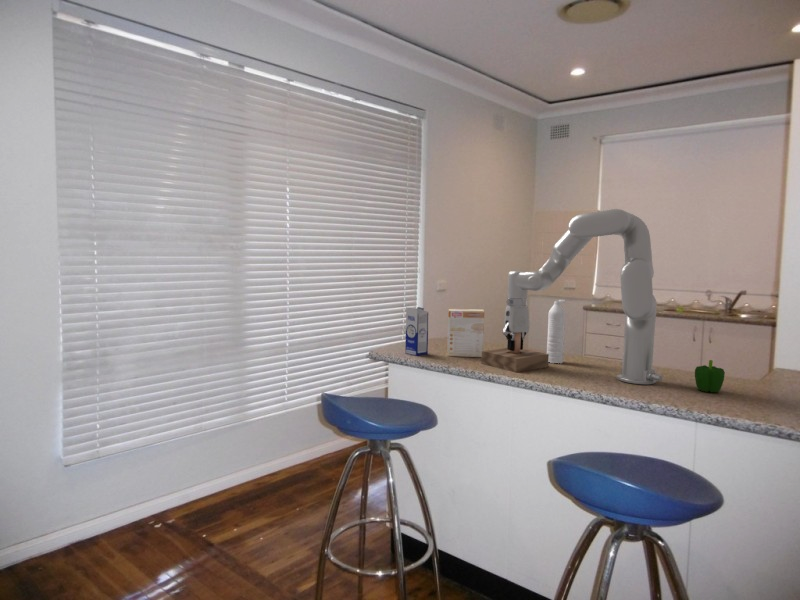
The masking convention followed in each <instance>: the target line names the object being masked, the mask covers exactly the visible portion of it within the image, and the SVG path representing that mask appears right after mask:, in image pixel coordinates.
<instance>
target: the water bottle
mask: <svg viewBox="0 0 800 600" xmlns="http://www.w3.org/2000/svg"><path fill="white" fill-rule="evenodd" d="M562 303H566V300H565V299H558V300H554V302H553V305H552V306H551V307H550V309H549V311H548V314H547V316H548V318H547V319H548V321H547V339H546V341H547V342H546V354H549V358H548V362H550V364H554V363H558V364H559V363H560V364H563V363H564V354H565V353H564V351H565V349H564V348H565V347H564V346H565V332H566V331H565V325H566V324H565V323H566V311H565V309H564V308H563V306H562Z"/></svg>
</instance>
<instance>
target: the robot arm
mask: <svg viewBox="0 0 800 600" xmlns="http://www.w3.org/2000/svg"><path fill="white" fill-rule="evenodd" d="M650 234H651V233H650V230H649V228H648V226H647V224H646V223H645V222H644V221H643V220H642V218H640V217H638V216H637V215H635V214H633V213H630V212H627V211H626V210H623V209H621V208H620V209H619V208H614V209H613V208H612V209H606V210H600V211H594V212H586V213H579V214H577V215H575V216H573V217H572V218H571V219H570V221H569V222H568V229H567V230H566V231H565V232H564V233H563V234H562V235H561V237H559V239H558V240H557V241H556V242H555V243H554V244H553V246H552V250H551V254H550V255H549V258H548V259H547V260H546V262H545V263H543V265H542V266H541V268H539V269H538V270H533V271H532V270H531V271H526V270H525V271H524V270H510V271H509V272H508V275H507V293H506V301H505V302H506V307H505V310H504V318H503V330H502V332H501V333H502V334H503V335H504V336H505V337H506V340H507V345H506V346H507V347H506V348H507V349H508V350H511V351H514V350H515V341H514V335H515V333H520V332H521V345H520V350H523V349H524V340H525V336H526V335H527V334H528V333H529V331H530V310H529V306H527V305H528V291H532V292H541V291H544V290H547V289H548V288H550V287H551V286H552V285H553V284H554V283H555V282H556V281H557V279H558V278H560V276H561V275H562V274H563V273H564V272H565V270H566V268H567V267H568V266H569V265H570V264H571V263H572V261H573V259H575V257H576V256H578V254H579V253H580V252H581V251H582V249H583V248H584V247H585V246H587V244H588V243H589V242H590V241H591V239H593V238H595V237H603V236H605V237H606V236H612V235H613V236H615V235H616V236H620V237H621V238H622V239H623V249H624V250H623V251H624V252H623V253H624V264H623V265H622V268H621V270H620V276H619V277H620V293H621V307H622V310H623V312H624V314H625V321H624V336H623V350H622V351H623V354H622V367H621V368H622V369H621V371H622V372H621V373H619V374H617V375H616V379H617V380H619V381H621V382H625V383H628V384H634V385H654V384H656V383H657V381H658V382H662V381H663V374H660V373H656V369H654V368H653V361H654V347H655V345H654V344H655V330H656V320H657V319H656V318H657V312H658V311H657V310H658V308H657V305H658V304H657V303H658V302H657V299H656V296H654V294H653V277H654V266H653V254H652V245H651V244H652V243H651V235H650ZM510 331H511V332H510ZM510 333H511V335H510Z"/></svg>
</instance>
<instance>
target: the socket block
mask: <svg viewBox="0 0 800 600" xmlns="http://www.w3.org/2000/svg"><path fill="white" fill-rule="evenodd" d="M548 358H549V354H547V353H545V352H539V351H535V350H530V349H526V348H523V350H520V354H511V353H510V350H508V349H507V347H503V348H495V349H488V350H483V351H482V357H481V361H480V362H481V364H482V365H485V366H486V365H487V366H489V367H493V368H496V369H502V370H506V371H509V372H513V373H520V372H521V373H522V372H527V371H532V370H531V369H533V370H537V369H536V368H539V369H543V368H542V367H545V368H549V363H548ZM526 370H527V371H526Z"/></svg>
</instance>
